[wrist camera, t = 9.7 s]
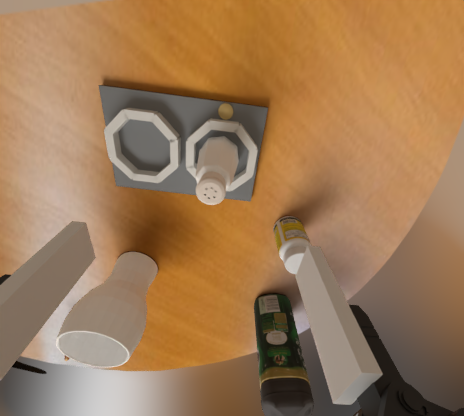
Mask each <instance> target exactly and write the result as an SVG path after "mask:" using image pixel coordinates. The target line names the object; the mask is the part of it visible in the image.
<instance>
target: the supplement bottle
mask: <svg viewBox="0 0 464 416" xmlns="http://www.w3.org/2000/svg"><path fill="white" fill-rule="evenodd" d="M273 231H274V235H275V239H276V243H277V248H278V252H279V256H280V258H281V259H282V260H283V261H284V264H285V268H286V269H287V271H289V272H290V273H292V274H297V271H298V269H299V266H300V264H301V261H302V258H303V256H304V253H305V251H306V248H307V246H312V245H311V243H310V240H309V238H308V236H307V234H306V232H305V229H304V227H303V225H302V223H301V221H300V220H299V219H298V218H296V217H293V216H286V217H282V218H280V219H279V220H278V221H277V222H276V223H275V225H274V228H273Z"/></svg>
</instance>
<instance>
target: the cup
mask: <svg viewBox="0 0 464 416" xmlns="http://www.w3.org/2000/svg"><path fill="white" fill-rule="evenodd" d="M157 273H158V267H157V265H156V263H155V261H154V260H152V259H151V258H150V257H148V256H147V255H145V254H142V253H138V252H127V253H124V254H122V255H120V257H119V258H118V259H117V261H116V264H115V266H114V269H113V271H112V274H111V275H110V276H109V277H108V278H107V280H106V281H105V282H104V283H103V284H101V285H99V286H98V287H96V288H94V289H92V290H91V291H90V292H88V293H87V294H86V295H85V296H84V297H83V298H81V299H80V300H79V301H78V302H77V303H76V304H75V305H74V307H73V308H72V310H71V311H70V312H69V314H68V315H67V317H66V318H65V320H64V322H63V325H62V327H61V329H60V332H59V334H58V336H57V340H56V345H57V348H58V349H59V350H60V351H61V352H62V353H63V354H64V355H66V356H67V357H69V358H71V359H72V360H74V361H77V362H80V363H82V364H86V365H90V366H96V367H116V366H119V365H122V364H124V363H125V362H127V361H128V359H129V358H130V356H131V355H132V353H133V351H134V350H135V348H136V347H137V345H138V343H139V342H140V340H141V338H142V335H143V332H144V329H145V327H146V315H147V305H146V295H147V291H148V287H149V286H150V284H151V283H152V281H153V280H154V278H155V276H156V275H157Z"/></svg>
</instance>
